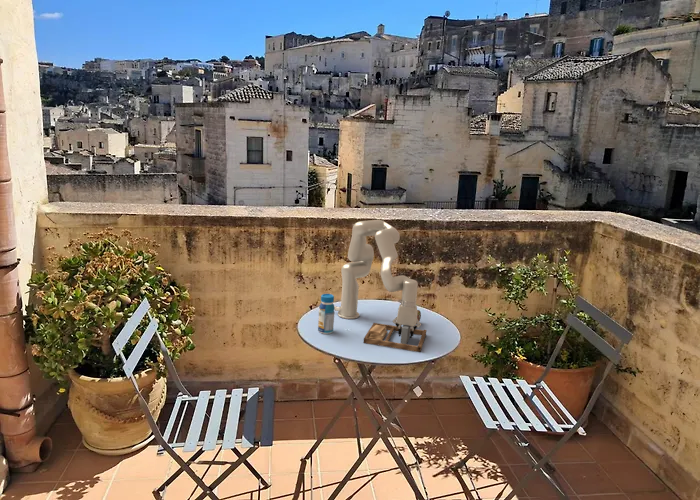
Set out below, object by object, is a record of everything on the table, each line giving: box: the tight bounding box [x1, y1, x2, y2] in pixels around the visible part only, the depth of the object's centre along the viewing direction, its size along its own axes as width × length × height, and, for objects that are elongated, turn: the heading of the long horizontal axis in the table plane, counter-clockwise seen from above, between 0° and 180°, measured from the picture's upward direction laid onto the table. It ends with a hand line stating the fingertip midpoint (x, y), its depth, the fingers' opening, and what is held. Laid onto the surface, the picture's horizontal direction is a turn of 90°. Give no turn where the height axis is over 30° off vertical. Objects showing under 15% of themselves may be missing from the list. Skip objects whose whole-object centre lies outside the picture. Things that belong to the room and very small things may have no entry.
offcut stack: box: [368, 325, 388, 341], centre depth 285 cm, size 7×13×5 cm, turn 164°
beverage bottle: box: [317, 293, 335, 335], centre depth 285 cm, size 8×8×20 cm
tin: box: [416, 309, 422, 324], centre depth 304 cm, size 15×3×8 cm, turn 143°
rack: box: [362, 322, 427, 353], centre depth 283 cm, size 29×24×3 cm
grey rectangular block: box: [400, 325, 411, 344], centre depth 282 cm, size 3×12×9 cm, turn 165°
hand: (405, 336), depth 282 cm, fingers open, 5 cm apart
